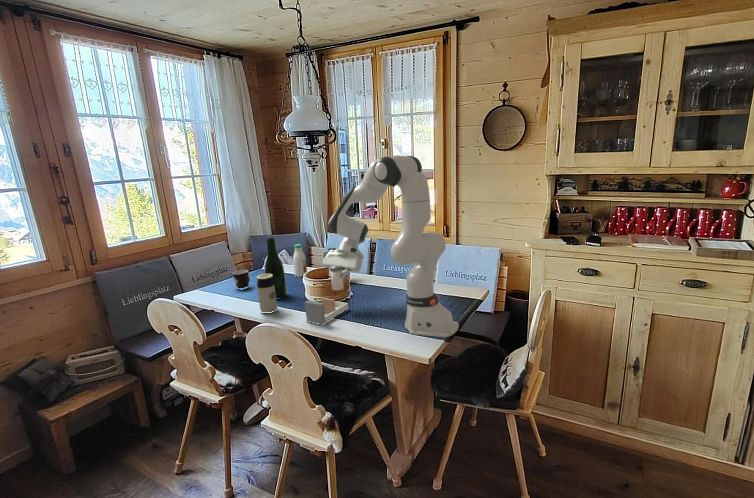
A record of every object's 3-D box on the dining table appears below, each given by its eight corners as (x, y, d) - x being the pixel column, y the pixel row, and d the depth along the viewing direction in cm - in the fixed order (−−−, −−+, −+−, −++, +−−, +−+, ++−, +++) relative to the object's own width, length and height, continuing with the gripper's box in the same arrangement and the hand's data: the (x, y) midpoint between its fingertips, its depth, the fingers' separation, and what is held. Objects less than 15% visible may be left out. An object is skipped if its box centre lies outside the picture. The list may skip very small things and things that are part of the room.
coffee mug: (234, 287, 237) (231, 271, 235) (249, 285, 241) (247, 268, 238) (236, 293, 227) (234, 276, 224) (252, 290, 230) (250, 273, 228)
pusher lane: (348, 309, 193) (347, 290, 191) (322, 325, 177) (320, 304, 175) (333, 306, 198) (331, 288, 196) (306, 322, 182) (304, 302, 179)
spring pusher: (335, 313, 187) (334, 299, 185) (334, 314, 186) (332, 300, 184) (324, 311, 190) (322, 297, 188) (322, 312, 189) (321, 298, 187)
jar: (346, 287, 190) (344, 265, 188) (339, 291, 186) (337, 269, 183) (336, 285, 193) (334, 264, 191) (328, 289, 188) (327, 267, 186)
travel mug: (257, 311, 198) (252, 276, 193) (272, 306, 203) (267, 272, 199) (266, 315, 192) (261, 279, 188) (280, 310, 197) (276, 275, 193)
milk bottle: (300, 278, 248) (297, 246, 243) (292, 276, 253) (288, 245, 248) (309, 274, 254) (306, 243, 249) (301, 273, 259) (298, 242, 254)
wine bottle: (264, 297, 218) (256, 237, 210) (281, 292, 224) (274, 233, 217) (273, 301, 210) (265, 239, 202) (291, 296, 217) (284, 236, 209)
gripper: (326, 246, 196) (314, 271, 190) (361, 250, 186) (350, 276, 180) (332, 253, 201) (321, 277, 195) (367, 257, 190) (356, 283, 185)
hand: (335, 277), depth 187 cm, fingers closed on jar, 5 cm apart
